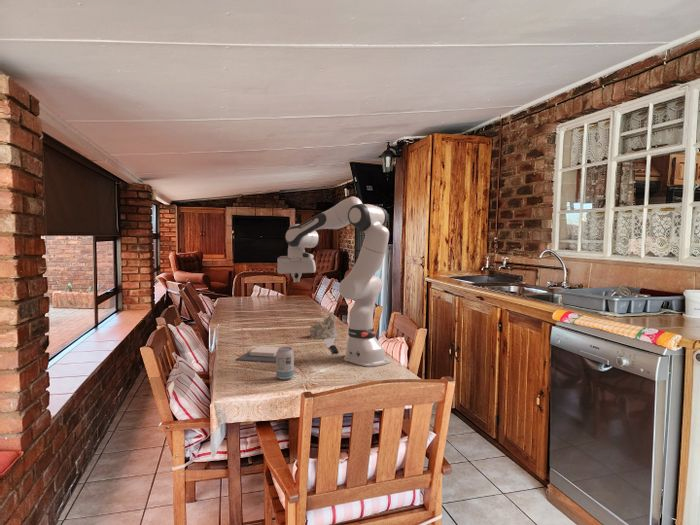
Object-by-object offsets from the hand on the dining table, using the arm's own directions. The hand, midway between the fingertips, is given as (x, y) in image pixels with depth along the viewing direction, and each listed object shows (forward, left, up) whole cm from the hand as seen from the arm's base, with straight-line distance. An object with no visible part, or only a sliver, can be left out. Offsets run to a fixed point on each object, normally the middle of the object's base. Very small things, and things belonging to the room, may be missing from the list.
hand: (296, 281), depth 229 cm
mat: (-12, +24, -33) cm, 43 cm away
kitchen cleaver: (-12, -13, -34) cm, 38 cm away
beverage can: (-46, +29, -33) cm, 64 cm away
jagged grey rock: (+11, -23, -34) cm, 42 cm away
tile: (-6, +17, -32) cm, 36 cm away
